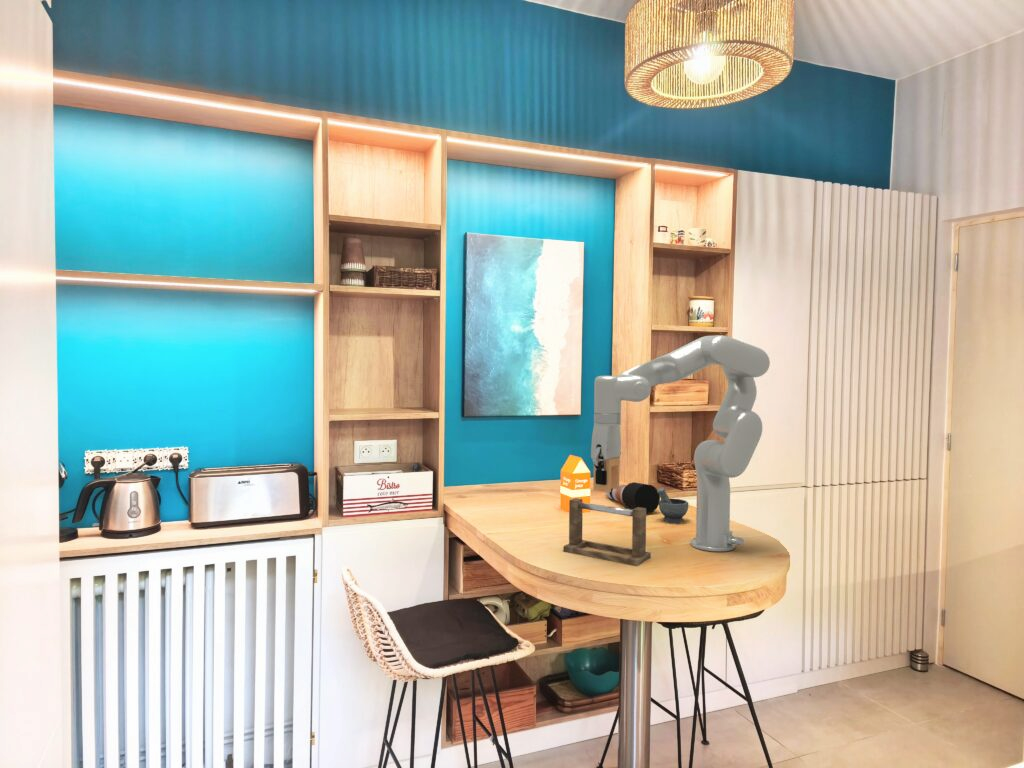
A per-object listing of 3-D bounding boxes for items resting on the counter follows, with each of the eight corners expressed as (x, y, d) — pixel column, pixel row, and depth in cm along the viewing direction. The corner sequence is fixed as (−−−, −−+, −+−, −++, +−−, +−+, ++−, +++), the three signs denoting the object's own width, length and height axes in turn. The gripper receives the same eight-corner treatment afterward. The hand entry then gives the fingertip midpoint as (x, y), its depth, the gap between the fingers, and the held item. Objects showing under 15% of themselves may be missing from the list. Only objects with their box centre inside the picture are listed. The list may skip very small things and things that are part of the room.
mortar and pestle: (677, 517, 231) (678, 483, 230) (693, 523, 222) (694, 488, 221) (649, 519, 227) (650, 485, 226) (664, 526, 218) (665, 490, 218)
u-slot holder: (619, 488, 187) (619, 457, 187) (609, 492, 182) (609, 460, 181) (603, 486, 190) (603, 455, 189) (593, 490, 185) (593, 458, 184)
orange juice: (571, 513, 235) (572, 458, 234) (560, 508, 243) (560, 455, 242) (590, 511, 238) (591, 457, 237) (578, 506, 246) (578, 453, 245)
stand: (650, 557, 184) (651, 506, 183) (637, 566, 176) (637, 512, 176) (578, 544, 197) (579, 496, 196) (563, 551, 189) (563, 501, 189)
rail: (642, 517, 181) (642, 510, 181) (639, 518, 179) (640, 511, 179) (575, 506, 193) (575, 500, 193) (572, 507, 191) (572, 501, 191)
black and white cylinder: (612, 506, 266) (622, 483, 268) (653, 517, 234) (664, 491, 235) (591, 496, 264) (601, 473, 266) (630, 506, 231) (640, 479, 233)
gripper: (609, 416, 194) (608, 476, 195) (580, 420, 180) (580, 485, 181) (632, 418, 190) (631, 479, 191) (605, 422, 176) (604, 489, 176)
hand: (606, 481), depth 186 cm, fingers closed on u-slot holder, 6 cm apart
